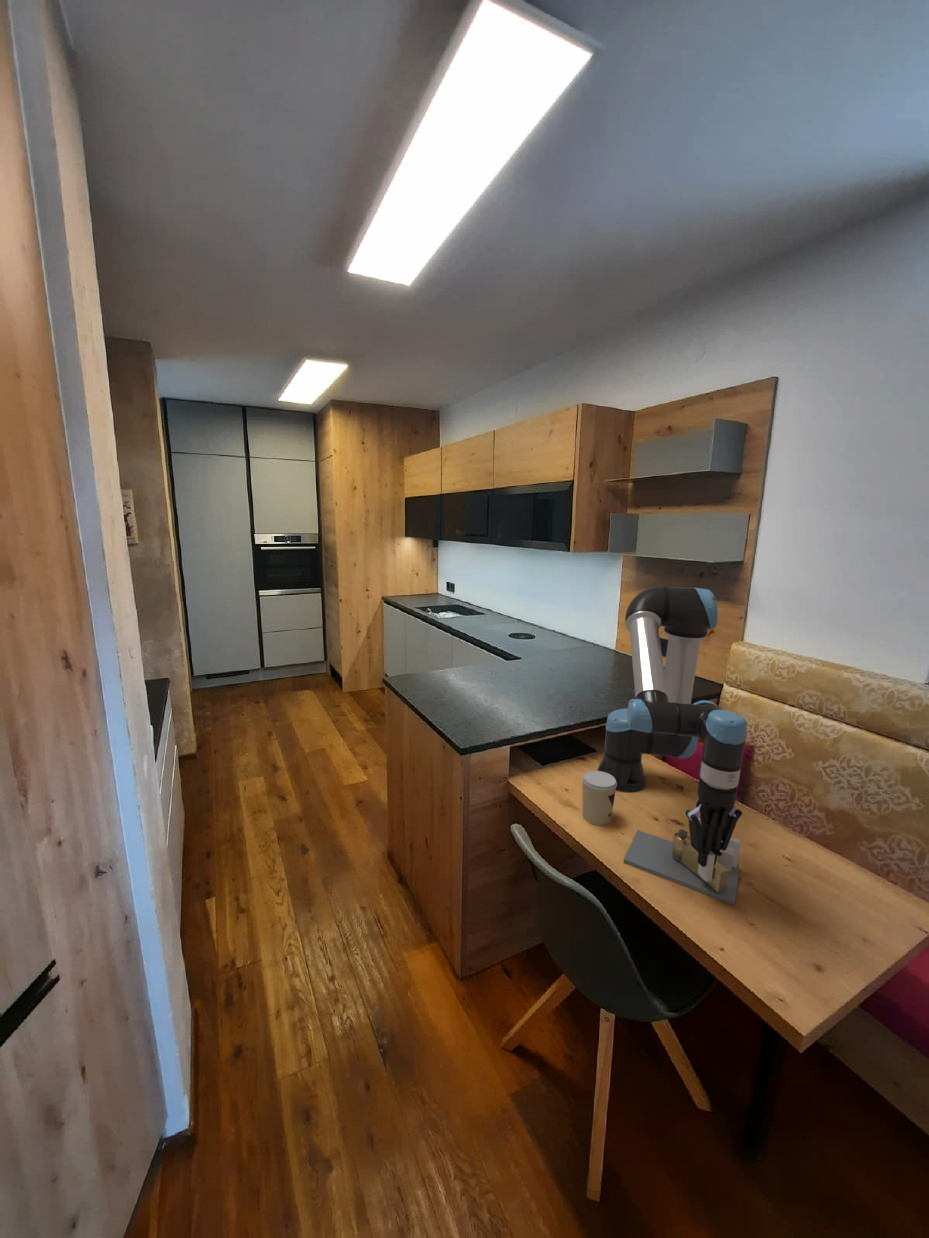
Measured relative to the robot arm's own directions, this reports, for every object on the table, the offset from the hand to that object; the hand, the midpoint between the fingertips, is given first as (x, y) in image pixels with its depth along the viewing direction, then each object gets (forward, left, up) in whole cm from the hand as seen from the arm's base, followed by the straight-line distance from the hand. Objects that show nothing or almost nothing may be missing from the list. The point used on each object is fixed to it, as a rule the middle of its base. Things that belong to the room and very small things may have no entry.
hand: (704, 876), depth 109 cm
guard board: (-6, -6, -3) cm, 9 cm away
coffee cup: (-14, -29, -4) cm, 32 cm away
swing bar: (-4, -2, -2) cm, 5 cm away
